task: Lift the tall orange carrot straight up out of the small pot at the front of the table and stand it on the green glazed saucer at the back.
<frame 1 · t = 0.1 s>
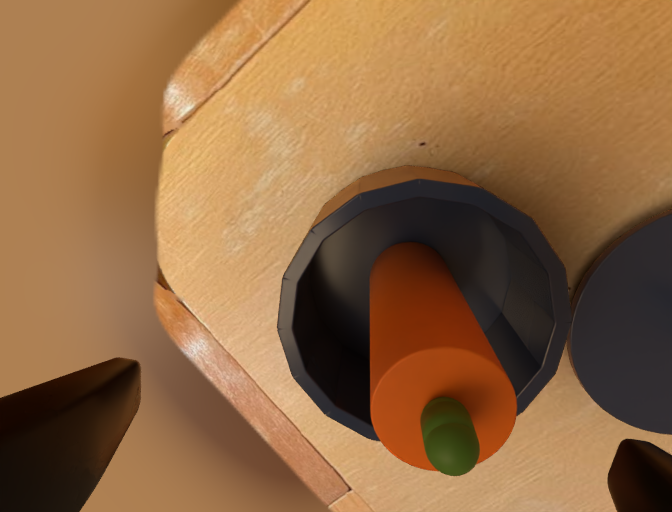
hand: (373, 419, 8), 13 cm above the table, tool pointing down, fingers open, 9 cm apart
pot: (407, 275, 21), on the table
carrot: (408, 279, 21), resting on pot
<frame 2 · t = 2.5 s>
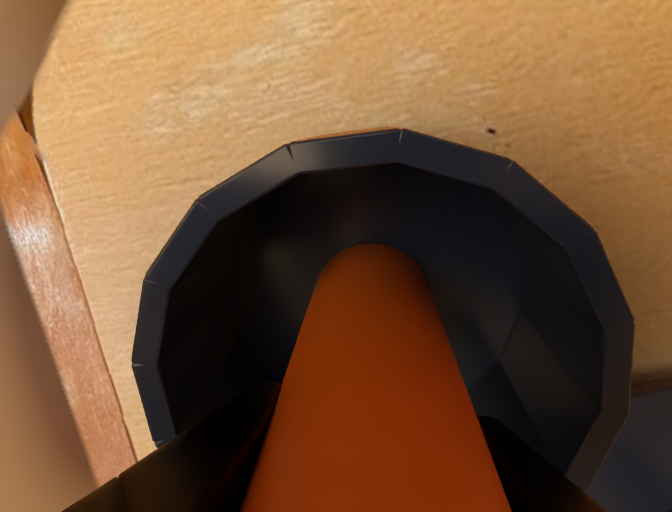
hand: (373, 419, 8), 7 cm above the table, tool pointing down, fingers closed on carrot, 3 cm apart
pot: (371, 292, 15), on the table
carrot: (371, 298, 14), point 1 cm above the table, touching gripper, pot
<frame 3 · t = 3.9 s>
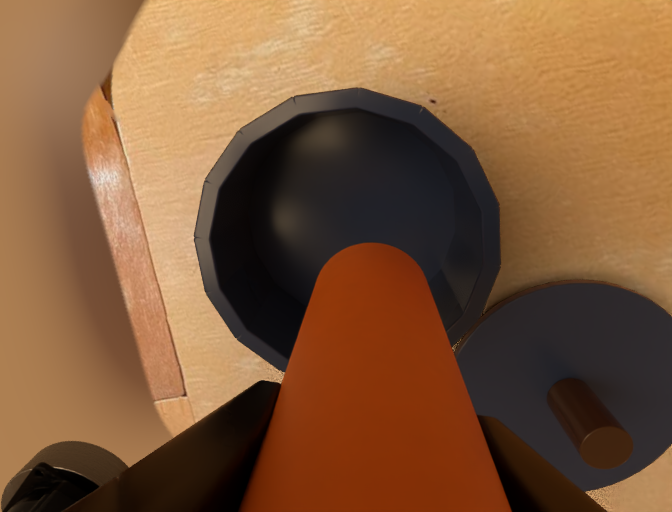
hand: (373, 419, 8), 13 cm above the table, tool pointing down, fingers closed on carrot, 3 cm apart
lid: (564, 390, 21), point 1 cm above the table
pot: (350, 218, 20), on the table
carrot: (371, 297, 14), point 7 cm above the table, touching gripper
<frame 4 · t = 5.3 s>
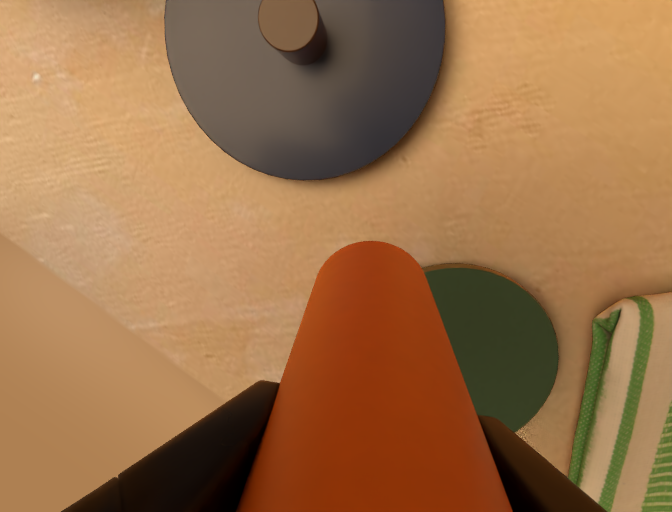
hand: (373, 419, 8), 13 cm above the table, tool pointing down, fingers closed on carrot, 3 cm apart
lid: (304, 40, 18), point 1 cm above the table
carrot: (370, 295, 14), point 7 cm above the table, touching gripper
saucer: (449, 357, 22), on the table
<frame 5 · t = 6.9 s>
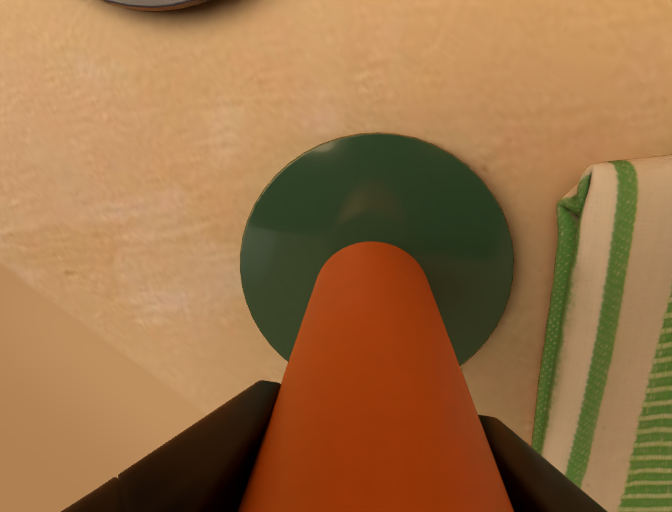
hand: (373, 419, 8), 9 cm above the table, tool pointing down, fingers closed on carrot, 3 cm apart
carrot: (371, 296, 14), point 3 cm above the table, touching gripper
saucer: (373, 267, 17), on the table
when the fingers open (7 cm above the table, at t = 8.0 s): carrot stays where it is, resting on saucer.
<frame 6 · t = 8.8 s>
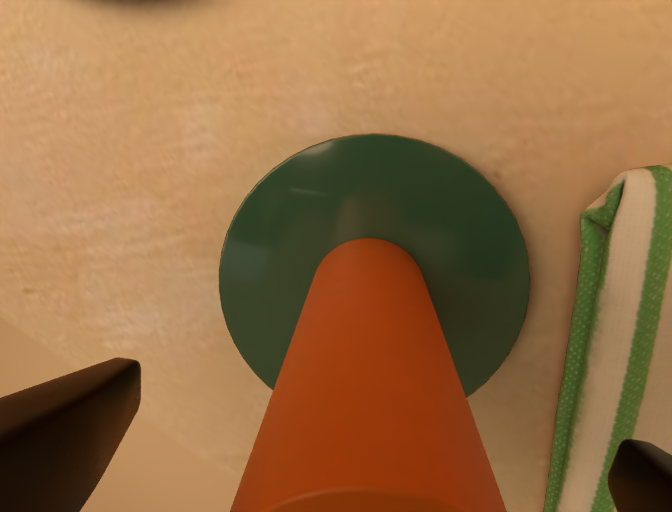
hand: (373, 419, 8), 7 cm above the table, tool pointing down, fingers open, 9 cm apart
carrot: (368, 291, 14), point 1 cm above the table, touching saucer
saucer: (370, 285, 15), on the table
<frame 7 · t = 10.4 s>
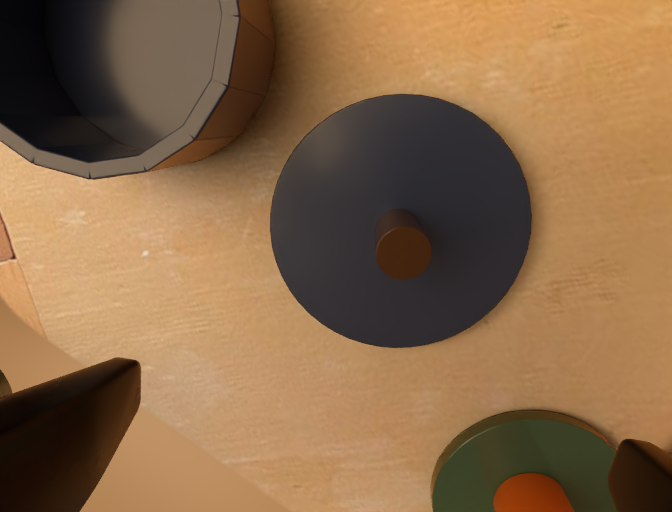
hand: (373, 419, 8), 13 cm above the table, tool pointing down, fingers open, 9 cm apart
lid: (397, 228, 20), point 1 cm above the table
pot: (155, 40, 19), on the table
carrot: (528, 500, 23), point 1 cm above the table, touching saucer
saucer: (525, 490, 24), on the table
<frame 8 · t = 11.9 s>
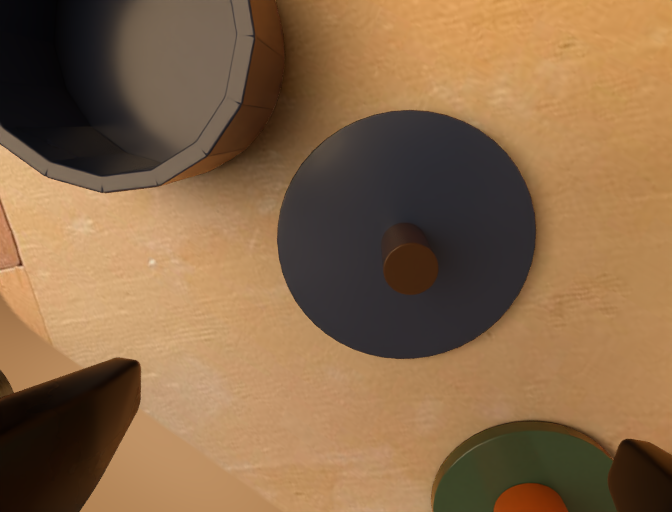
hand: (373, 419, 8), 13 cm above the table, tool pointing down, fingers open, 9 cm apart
lid: (402, 241, 20), point 1 cm above the table
pot: (166, 52, 19), on the table
carrot: (528, 510, 23), point 1 cm above the table, touching saucer
saucer: (524, 499, 24), on the table
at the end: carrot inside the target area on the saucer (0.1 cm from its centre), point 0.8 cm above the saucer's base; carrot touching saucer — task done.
